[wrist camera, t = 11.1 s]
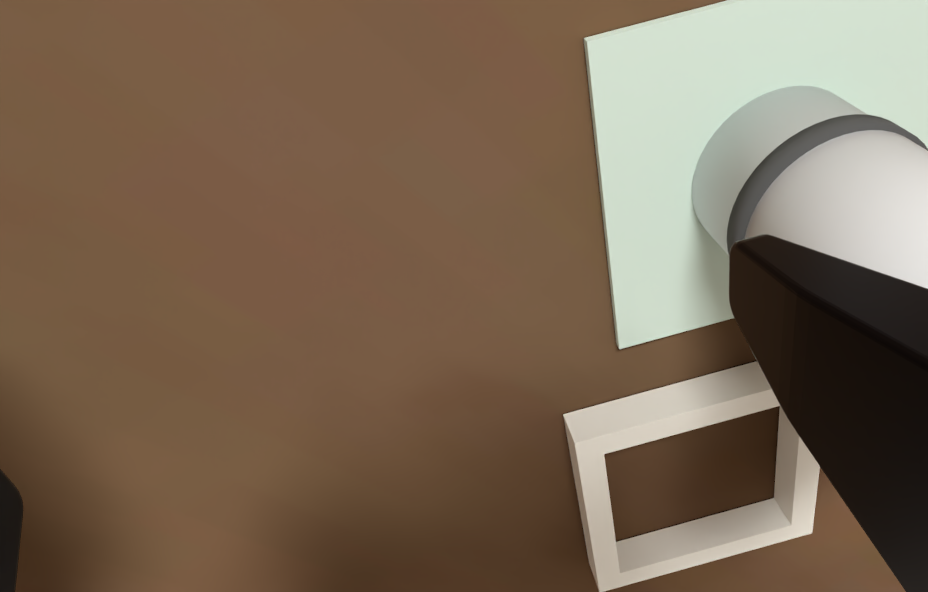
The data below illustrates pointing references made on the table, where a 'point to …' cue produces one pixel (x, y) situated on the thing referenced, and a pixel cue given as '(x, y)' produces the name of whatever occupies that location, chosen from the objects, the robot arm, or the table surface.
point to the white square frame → (705, 536)
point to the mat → (705, 109)
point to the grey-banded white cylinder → (818, 181)
